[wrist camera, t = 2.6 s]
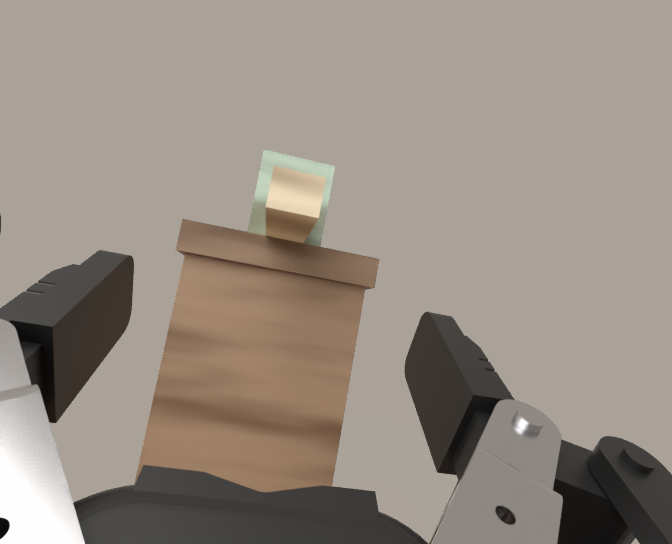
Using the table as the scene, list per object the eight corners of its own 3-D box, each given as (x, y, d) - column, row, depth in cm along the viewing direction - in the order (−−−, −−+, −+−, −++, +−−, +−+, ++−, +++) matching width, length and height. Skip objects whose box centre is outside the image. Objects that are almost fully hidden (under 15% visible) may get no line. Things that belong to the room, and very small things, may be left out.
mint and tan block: (344, 223, 20) (365, 105, 20) (238, 200, 19) (263, 78, 20) (311, 257, 33) (324, 186, 34) (249, 245, 33) (264, 172, 33)
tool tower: (291, 784, 25) (379, 259, 28) (56, 784, 23) (182, 218, 26) (284, 657, 33) (351, 270, 37) (115, 649, 31) (203, 240, 35)
